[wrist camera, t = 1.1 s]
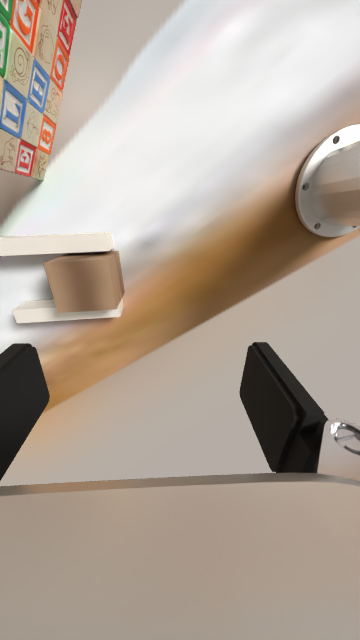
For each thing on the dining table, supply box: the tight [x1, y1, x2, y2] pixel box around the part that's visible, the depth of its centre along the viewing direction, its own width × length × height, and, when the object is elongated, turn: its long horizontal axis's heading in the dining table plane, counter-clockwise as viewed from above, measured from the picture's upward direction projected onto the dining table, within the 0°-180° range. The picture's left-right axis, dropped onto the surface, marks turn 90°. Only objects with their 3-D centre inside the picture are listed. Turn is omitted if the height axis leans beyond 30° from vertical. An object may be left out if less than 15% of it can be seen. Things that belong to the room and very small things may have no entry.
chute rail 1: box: [0, 232, 114, 256], centre depth 28 cm, size 14×2×4 cm, turn 92°
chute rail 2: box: [12, 299, 124, 323], centre depth 32 cm, size 14×2×4 cm, turn 92°
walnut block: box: [43, 251, 125, 313], centre depth 29 cm, size 7×6×7 cm
